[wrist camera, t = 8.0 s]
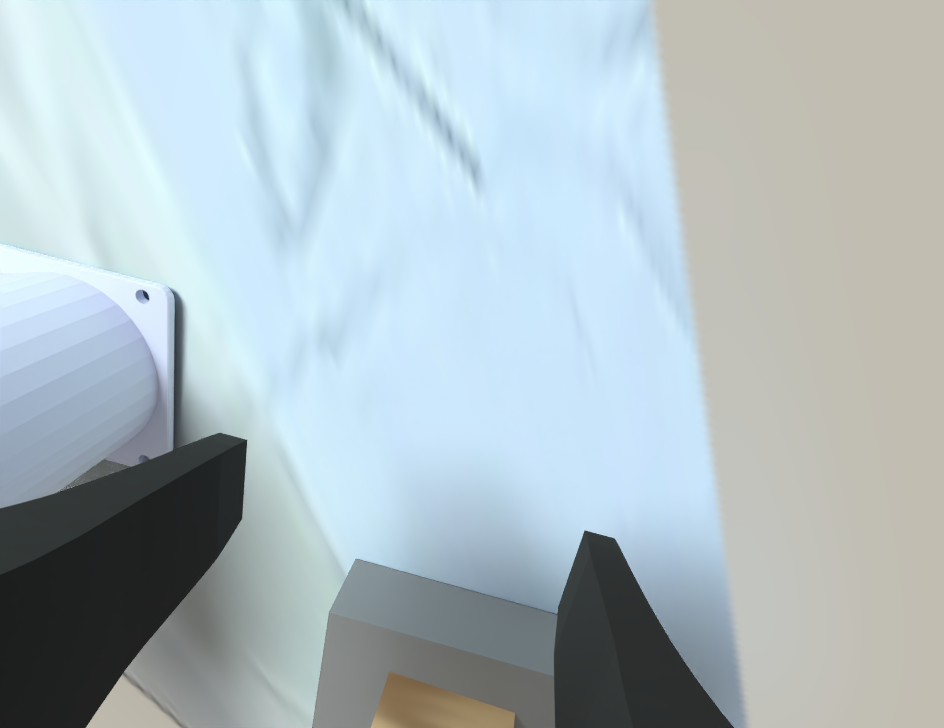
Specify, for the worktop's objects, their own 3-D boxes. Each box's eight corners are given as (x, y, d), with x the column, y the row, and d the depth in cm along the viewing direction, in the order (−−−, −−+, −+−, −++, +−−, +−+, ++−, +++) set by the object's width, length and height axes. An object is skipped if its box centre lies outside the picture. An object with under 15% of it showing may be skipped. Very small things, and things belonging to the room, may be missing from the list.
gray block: (329, 719, 29) (304, 781, 26) (355, 558, 25) (329, 611, 22) (531, 779, 28) (527, 849, 26) (590, 624, 25) (593, 687, 22)
